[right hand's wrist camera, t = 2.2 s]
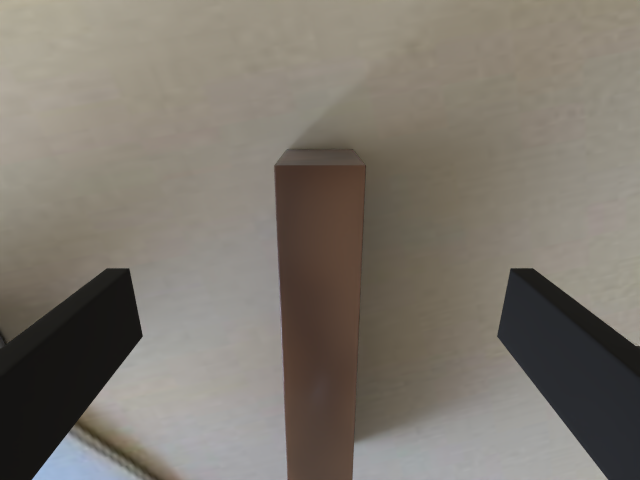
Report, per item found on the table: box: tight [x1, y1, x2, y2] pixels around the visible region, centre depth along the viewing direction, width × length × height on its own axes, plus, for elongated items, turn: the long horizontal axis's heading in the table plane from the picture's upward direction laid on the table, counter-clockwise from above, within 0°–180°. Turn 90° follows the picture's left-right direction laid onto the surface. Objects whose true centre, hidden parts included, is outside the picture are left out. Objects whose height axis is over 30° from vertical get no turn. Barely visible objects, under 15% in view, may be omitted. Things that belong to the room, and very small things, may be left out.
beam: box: [274, 149, 366, 480], centre depth 29 cm, size 5×30×8 cm, turn 0°
